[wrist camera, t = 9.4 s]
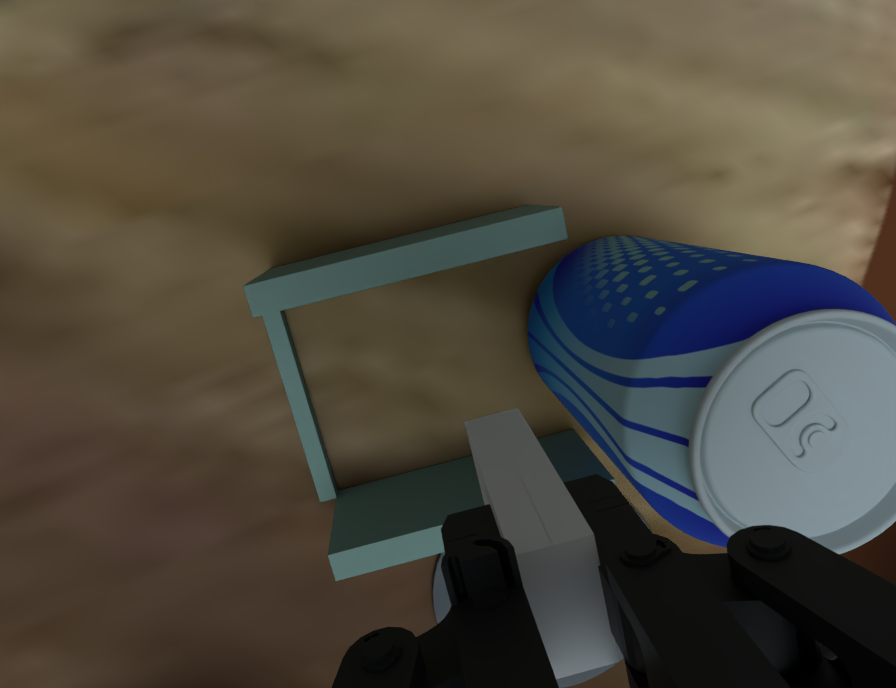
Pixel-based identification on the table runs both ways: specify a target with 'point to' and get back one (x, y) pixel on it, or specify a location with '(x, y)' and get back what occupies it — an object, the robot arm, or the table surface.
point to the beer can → (727, 385)
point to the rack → (428, 489)
